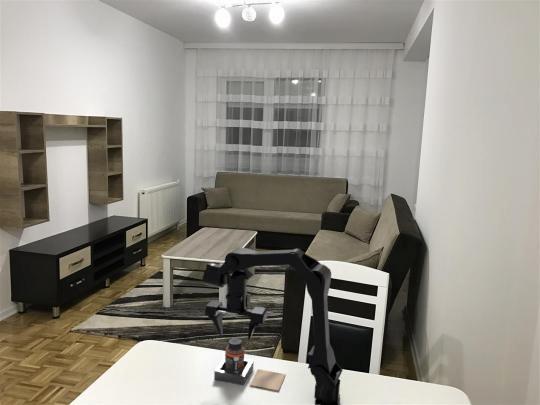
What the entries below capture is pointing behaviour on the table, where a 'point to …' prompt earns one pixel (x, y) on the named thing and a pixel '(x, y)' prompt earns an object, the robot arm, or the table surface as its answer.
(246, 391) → the table surface
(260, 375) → the pad
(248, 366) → the collar
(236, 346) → the supplement bottle
